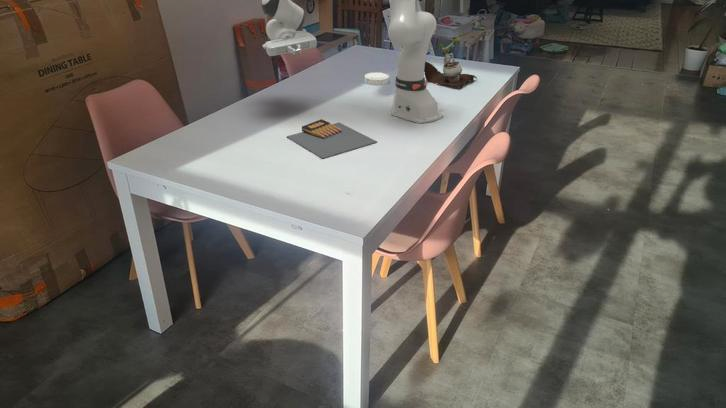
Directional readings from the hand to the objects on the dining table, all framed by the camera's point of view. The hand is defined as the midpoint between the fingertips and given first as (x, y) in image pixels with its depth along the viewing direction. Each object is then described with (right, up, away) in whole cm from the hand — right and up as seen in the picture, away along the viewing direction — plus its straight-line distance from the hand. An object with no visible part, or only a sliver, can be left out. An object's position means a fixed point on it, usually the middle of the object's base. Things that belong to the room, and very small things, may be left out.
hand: (297, 52), depth 202 cm
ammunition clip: (+5, -28, +1) cm, 28 cm away
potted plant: (+68, +1, +57) cm, 88 cm away
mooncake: (+32, +1, +55) cm, 64 cm away
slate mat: (+14, -35, -8) cm, 38 cm away
